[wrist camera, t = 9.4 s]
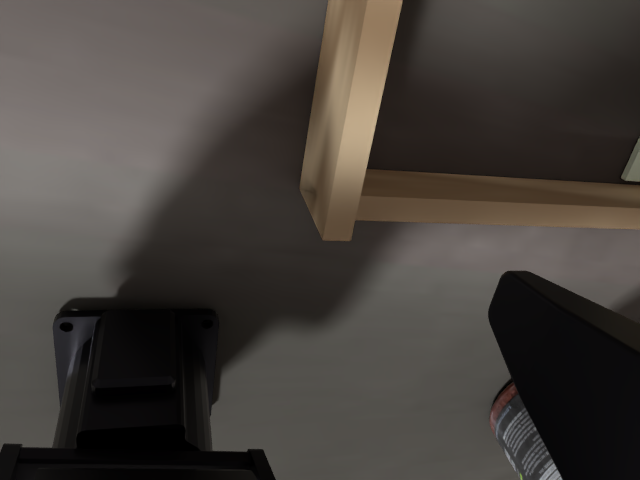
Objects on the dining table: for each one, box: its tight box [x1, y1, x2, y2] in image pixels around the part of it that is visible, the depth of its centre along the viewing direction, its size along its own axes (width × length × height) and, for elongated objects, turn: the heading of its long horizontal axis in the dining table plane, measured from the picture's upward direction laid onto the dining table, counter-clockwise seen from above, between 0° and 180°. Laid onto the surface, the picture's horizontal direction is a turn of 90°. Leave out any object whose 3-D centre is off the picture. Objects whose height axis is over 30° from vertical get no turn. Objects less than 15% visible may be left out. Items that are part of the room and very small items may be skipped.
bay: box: [299, 0, 640, 241], centre depth 20 cm, size 14×21×4 cm, turn 81°
